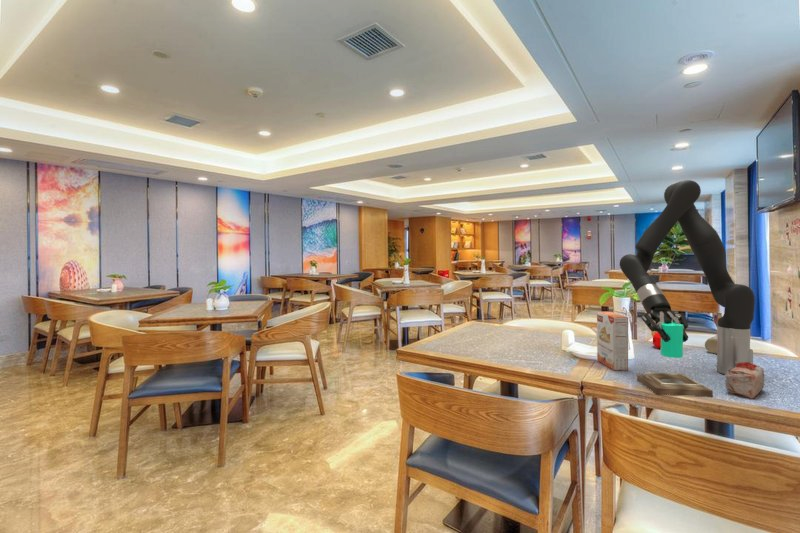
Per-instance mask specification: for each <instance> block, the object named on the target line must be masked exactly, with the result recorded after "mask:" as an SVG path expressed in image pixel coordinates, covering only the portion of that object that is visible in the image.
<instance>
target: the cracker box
mask: <svg viewBox="0 0 800 533" xmlns="http://www.w3.org/2000/svg"><path fill="white" fill-rule="evenodd" d="M596 314H597V315H596V319H597V320H596V324H597V326H596V329H597V330H596V332H597V333H596V340H597V343H596V345H597V346H596V347H597V349H596V350H597V351H596V352H597V353H596V354H597V356H596V358H597V361H598V362H599V363H601V364H603V365H604V366H606V367H607V368H609V369H610V370H612V371H617V372H618V371H629V317H628V316H626V315H625V316H624V315H622V314H619V313H616V312H613V311H597V312H596Z"/></svg>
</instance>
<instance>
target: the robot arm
mask: <svg viewBox="0 0 800 533" xmlns="http://www.w3.org/2000/svg"><path fill="white" fill-rule="evenodd" d="M701 192H702V190H701V187H700V185H699V183H698V182H696V181H694V180H692V179H691V180H690V179H684V180H681V181H678V182H675V183H672V184H670V185H669V186H667V187H666V189H665V190H664V192H663V198H664V201H665V203H666V206H665V207H664V209H663V210H662V211H661V213H660V214H659V215H658V216H657V217H656V218H655V219H654V220H653V221H652V222H651V223H650V225H648V227H647V228H646V229H645V230H644V231H643V233H642V235H641V236H640V237H639V239H638V240H637V242H636V243H635V250H636V255H635V254H631V253H630V254H625V255H623V256H622V257H621V258H620V260H619V268H620V270H621V271H622V273H623V275H624V276H625V277H626V278H627V279H628V281H629V282H630V284H631V285H632V287H633V289H634V290H635V291H634V292H636V294H637V298H638V300H639V301H640V303H641V305H642V307H643V309H644V310H645V313H644V314H643V315H642V316H641V320H642V321H643V322H644V324H645V325H646V326H647V328H648V329H649V330H650V331H651V332H656V333H657V332H658V333H659V335H660V336H661V338H662V340H664V341H665V342H668V341H669V340H670V337H669V335H668V334H667V333H665V331H664V329H663V327H662V324H663V325H664V323H675V324H678V325H680V324H682V325H683V343H686V342H687V341H688V340H689V336H688V334H687V332H686V330H687V329H688V328H689V324H688V322H687V318H686V316H685V313H684V312H680V313H675V311H673V310H672V307H671V304H670V301H668V299H667V298H666V296H665V294H664V292H663V291H662V289H661V288H660V287H659V286H658V284H657V282H656V281H655V278H653V276H652V275H650V274H649V273H648V271H649V269H650V268H651V265H652V262H653V259H654V256H655V253H656V252H657V250H658V249H659V247H660V246H661V244H662V243H663V242H664V240H665V238H666V237H667V235H669V233H670V231H671V230H672V229H673V228H674V226H675V225H676V224H677V222H678V223H679V226H680V228H681V230H682V233H683V234H684V236H685V238H686V241H687V243H688V245H689V248H690V249H691V251H692V252H693V255H694V256H695V258H696V260H697V262H698V264H699V266H700V268H701V270H702V272H703V274H704V276H705V278H706V280H707V284H708V286H709V289H710V292H711V295H712V297H713V299H714V301H715V302H716V304H718V305H719V306H721V307H724V313H723V315H722V316H721V317H719V318H718V319H717V328H716V334H717V354H716V372H717V373H720V374H723V375H726V373H727V371H728V369H729V368H731V369H730V370H732V369H733V368H735V367H736V366H737V365H736V363H735V361H737V362H739V363H745V362H749V363H751V364H754V350H753V349H751V325H752V323H753V321H754V317H755V305H756V304H755V302H756V298H755V293H754V291H753V290H752V288H750V287H749V286H748V285H745V284H740V283H739V284H738V283H735V282H734V281H733V279H732V277H731V276H730V273H729V272H728V269H727V266H726V265H727V264H726V262H727V261H726V260H727V259H726V258H727V255H726V253H727V252H726V248H725V245H724V243H723V241H722V239H721V237H720V235H719V234H718V232H717V230H716V229H715V228H714V227H713V226H712V225H711V224H710V223H709V222H708V221H707V220H706V219H704V218H703V216H702V215H701V214H700V213H699V210H697V207H696V205H695V203H696V202H697V200H698V199H699V198H700V196H701Z"/></svg>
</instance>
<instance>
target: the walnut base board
mask: <svg viewBox="0 0 800 533" xmlns="http://www.w3.org/2000/svg"><path fill="white" fill-rule="evenodd" d="M636 381H637V382H639V383H640V384H641V385H643V386H644V387H645V386H646V388H647V389H648V388H649V389H648V390H650V389H651V390H652V391H653V392H652V391H651V390H650V391H651V392H652V393H654V394H655V395H658V396H659V395H661V396H679V395H695V396H694V397H702V396H707V398H713V396H714V392H713V391H714V390H712V389H710V388H709V387H707V386H706V385H704V384H702V383H701V382H699V381H696V380H695V379H693V378H691V377H689V376H687V375H686V374H684V373H674V372H673V373H672V372H671V373H670V372H669V373H668V372H667V373H666V372H644V374H636ZM667 394H668V395H667ZM669 394H670V395H669Z"/></svg>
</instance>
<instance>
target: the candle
mask: <svg viewBox="0 0 800 533" xmlns="http://www.w3.org/2000/svg"><path fill="white" fill-rule="evenodd" d="M662 327H663V329H664V331H665V333H667V334H668V335H669V337H670V340H669V341H668V342H665V341H664V340H662V338H661V349H660V356H662V357H666V358H673V359H674V358H675V359H681V358H684V352H683V351H684V342H683V325H682V324H680V325H678V324H675V323H674V322H672V323H664V325H663V324H662Z"/></svg>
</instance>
